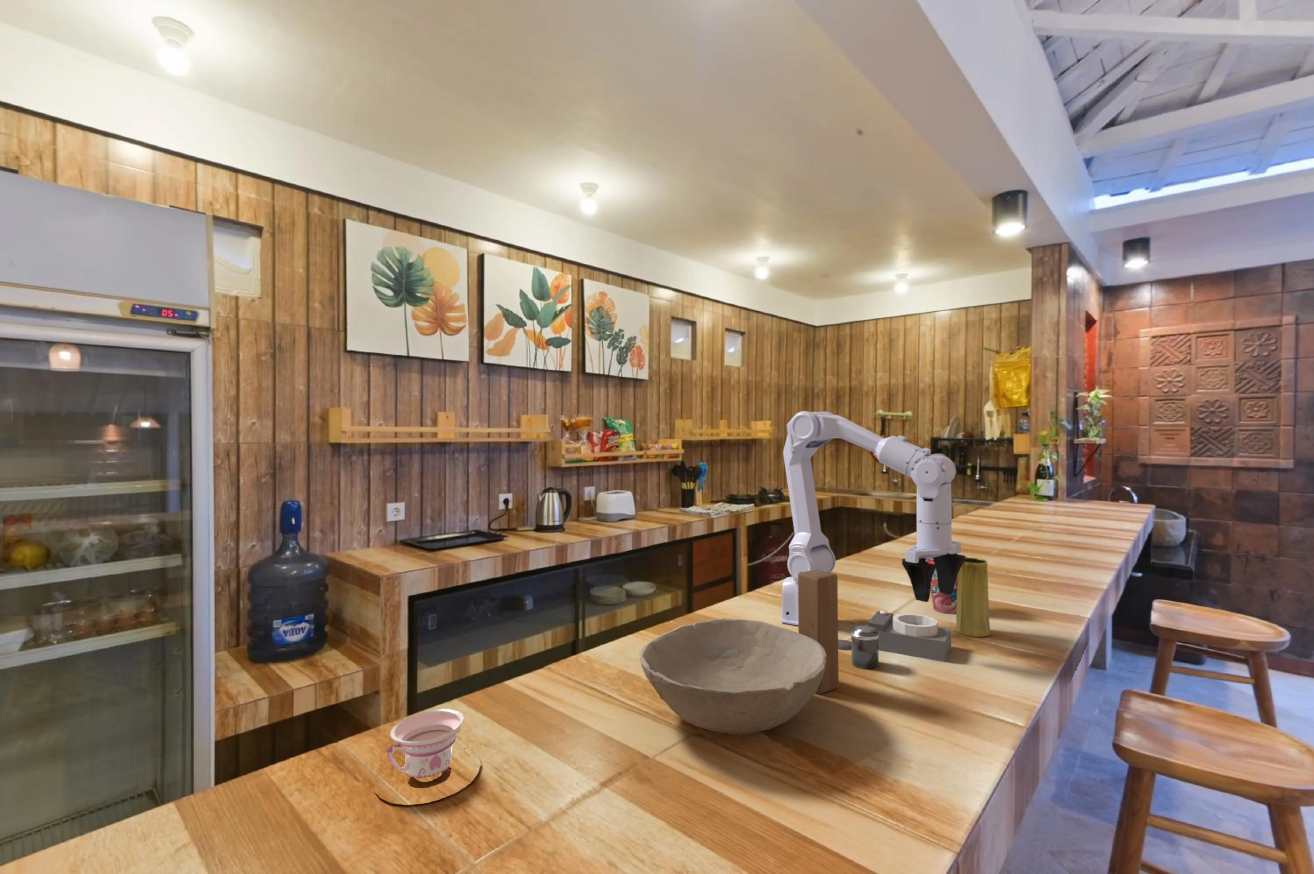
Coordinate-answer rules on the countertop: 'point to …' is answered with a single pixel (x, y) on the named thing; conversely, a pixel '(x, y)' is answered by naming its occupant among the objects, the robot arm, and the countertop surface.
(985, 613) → the vase
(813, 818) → the countertop surface
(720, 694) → the bowl
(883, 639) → the camera body
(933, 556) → the robot arm
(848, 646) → the lens cap
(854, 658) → the lens
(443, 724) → the teacup
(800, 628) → the wooden block
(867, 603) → the countertop surface
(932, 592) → the cup
